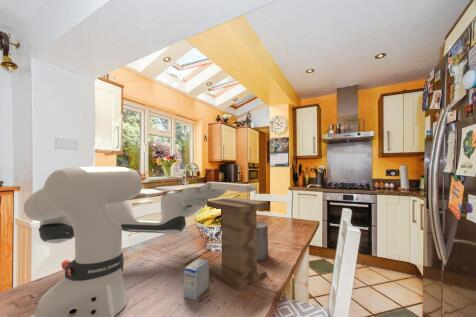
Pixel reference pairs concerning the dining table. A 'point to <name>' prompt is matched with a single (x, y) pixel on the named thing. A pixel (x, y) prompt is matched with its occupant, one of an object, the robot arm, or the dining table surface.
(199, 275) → the medicine box
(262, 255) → the pillar candle
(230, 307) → the dining table surface
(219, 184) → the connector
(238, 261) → the stand
